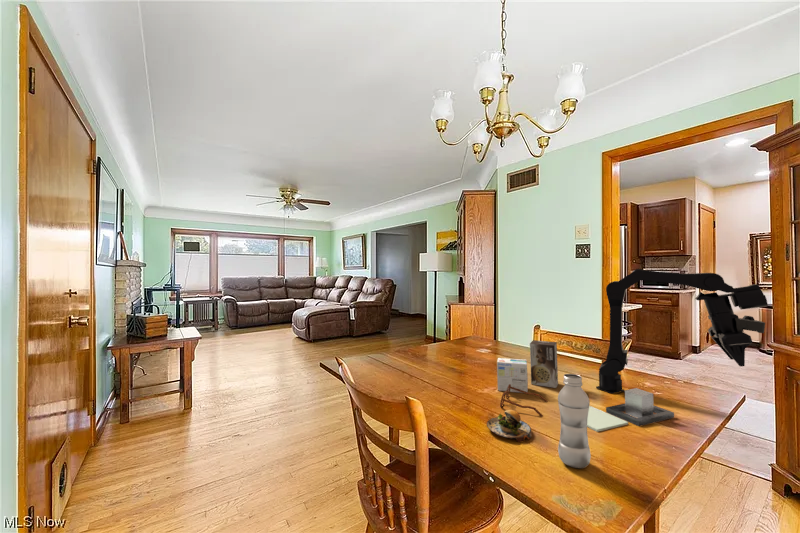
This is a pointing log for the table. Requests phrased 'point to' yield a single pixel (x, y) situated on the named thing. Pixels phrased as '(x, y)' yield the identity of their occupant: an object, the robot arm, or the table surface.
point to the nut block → (638, 403)
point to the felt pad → (602, 420)
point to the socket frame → (659, 416)
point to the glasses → (516, 403)
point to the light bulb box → (512, 374)
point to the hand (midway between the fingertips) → (737, 362)
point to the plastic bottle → (573, 423)
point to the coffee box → (544, 363)
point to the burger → (510, 426)
